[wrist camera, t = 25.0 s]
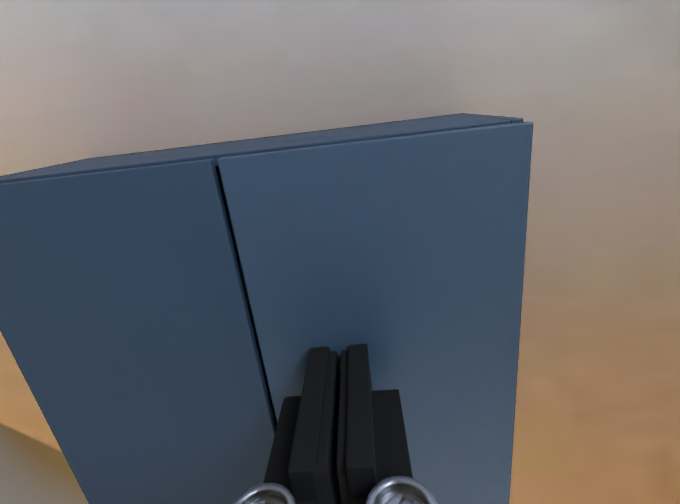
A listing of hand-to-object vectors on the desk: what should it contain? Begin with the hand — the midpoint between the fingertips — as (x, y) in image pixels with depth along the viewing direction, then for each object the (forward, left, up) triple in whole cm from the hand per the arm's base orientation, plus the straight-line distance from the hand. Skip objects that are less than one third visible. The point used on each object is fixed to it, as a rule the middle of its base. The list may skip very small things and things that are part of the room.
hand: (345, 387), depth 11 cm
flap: (0, +1, 0) cm, 1 cm away
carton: (0, -2, -6) cm, 6 cm away
